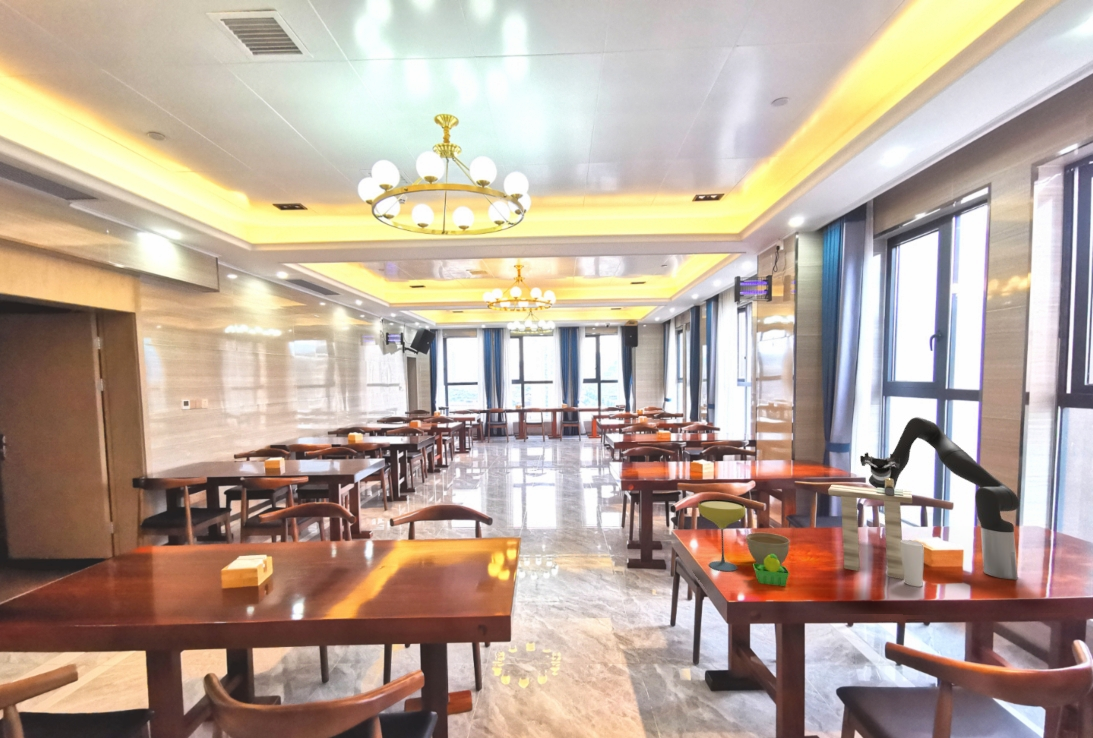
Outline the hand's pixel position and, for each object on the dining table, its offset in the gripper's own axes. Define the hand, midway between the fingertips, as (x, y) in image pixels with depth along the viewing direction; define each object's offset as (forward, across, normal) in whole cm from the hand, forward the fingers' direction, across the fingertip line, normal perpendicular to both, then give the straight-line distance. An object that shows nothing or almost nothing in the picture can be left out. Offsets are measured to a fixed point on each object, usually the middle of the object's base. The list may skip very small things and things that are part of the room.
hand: (879, 455), depth 203 cm
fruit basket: (+31, -33, +68) cm, 81 cm away
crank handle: (+17, +3, +22) cm, 28 cm away
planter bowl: (+14, -38, +58) cm, 71 cm away
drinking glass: (+6, +9, +53) cm, 55 cm away
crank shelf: (+4, -3, +52) cm, 52 cm away
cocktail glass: (+25, -52, +64) cm, 87 cm away
